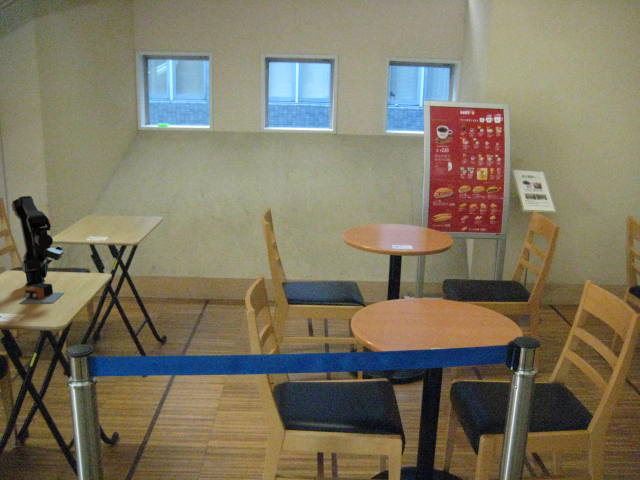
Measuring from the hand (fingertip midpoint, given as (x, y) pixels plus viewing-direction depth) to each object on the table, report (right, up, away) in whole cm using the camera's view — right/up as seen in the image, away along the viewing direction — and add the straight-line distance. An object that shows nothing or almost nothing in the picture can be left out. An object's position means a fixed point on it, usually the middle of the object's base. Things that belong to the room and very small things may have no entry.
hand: (44, 277), depth 253 cm
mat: (0, -9, -2) cm, 9 cm away
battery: (-1, -5, +3) cm, 6 cm away
